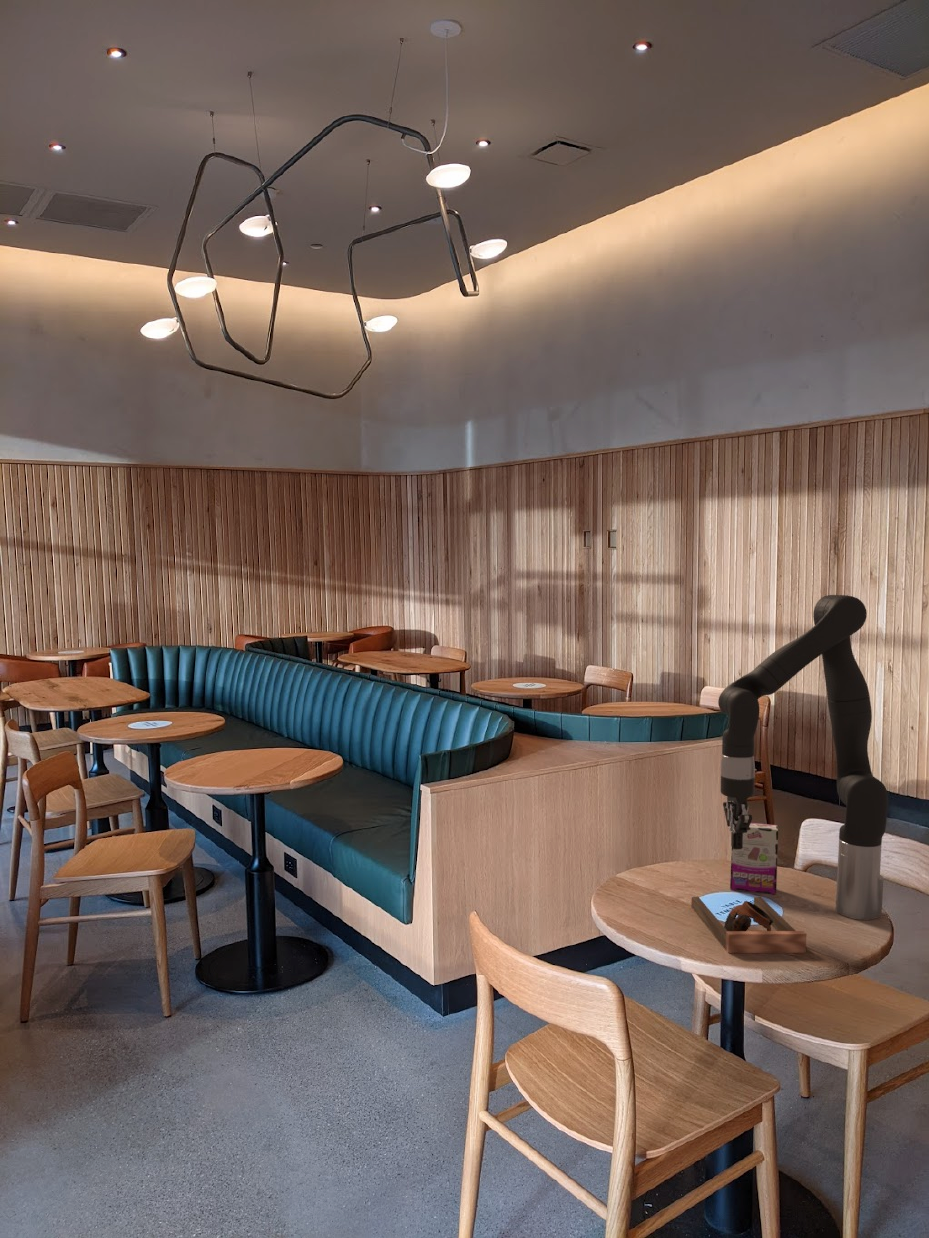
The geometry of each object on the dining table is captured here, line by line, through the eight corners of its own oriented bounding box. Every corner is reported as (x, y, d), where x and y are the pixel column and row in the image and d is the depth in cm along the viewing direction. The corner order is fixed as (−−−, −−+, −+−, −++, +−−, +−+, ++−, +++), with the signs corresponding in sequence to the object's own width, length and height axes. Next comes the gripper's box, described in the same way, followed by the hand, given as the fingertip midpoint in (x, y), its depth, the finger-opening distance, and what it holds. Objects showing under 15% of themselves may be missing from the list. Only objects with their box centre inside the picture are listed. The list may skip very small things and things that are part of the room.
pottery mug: (725, 925, 214) (745, 895, 213) (761, 953, 209) (781, 923, 209) (711, 929, 204) (732, 898, 203) (749, 958, 199) (770, 927, 198)
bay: (760, 906, 225) (760, 890, 224) (805, 952, 199) (806, 933, 199) (691, 906, 224) (691, 890, 223) (728, 952, 198) (728, 934, 198)
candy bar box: (775, 888, 237) (778, 824, 236) (776, 895, 233) (779, 830, 232) (729, 883, 241) (732, 820, 240) (729, 889, 236) (732, 825, 235)
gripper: (764, 780, 210) (763, 856, 211) (743, 767, 223) (742, 839, 225) (731, 781, 210) (730, 857, 211) (712, 768, 223) (711, 840, 224)
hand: (736, 848), depth 218 cm, fingers closed
